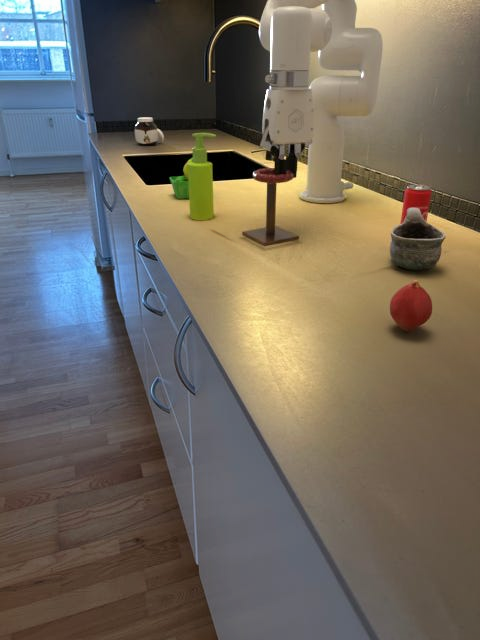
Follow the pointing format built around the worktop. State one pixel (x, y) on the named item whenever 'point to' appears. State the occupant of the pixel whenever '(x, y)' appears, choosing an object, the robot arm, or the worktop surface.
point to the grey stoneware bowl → (415, 242)
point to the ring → (272, 176)
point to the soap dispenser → (200, 181)
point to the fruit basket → (181, 183)
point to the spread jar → (147, 132)
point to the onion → (411, 306)
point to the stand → (270, 224)
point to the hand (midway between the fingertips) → (285, 176)
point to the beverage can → (417, 200)
